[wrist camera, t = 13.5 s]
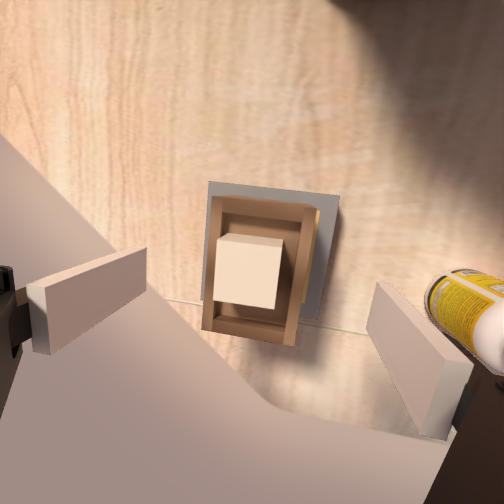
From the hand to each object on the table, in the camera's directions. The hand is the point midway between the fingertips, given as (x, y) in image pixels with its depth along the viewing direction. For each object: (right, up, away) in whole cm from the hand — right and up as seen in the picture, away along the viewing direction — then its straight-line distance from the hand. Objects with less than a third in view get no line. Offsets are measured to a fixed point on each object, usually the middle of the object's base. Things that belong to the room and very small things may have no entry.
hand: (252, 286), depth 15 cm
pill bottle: (+20, -2, +12) cm, 24 cm away
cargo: (0, +1, +4) cm, 5 cm away
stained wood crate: (+1, +2, +10) cm, 11 cm away
